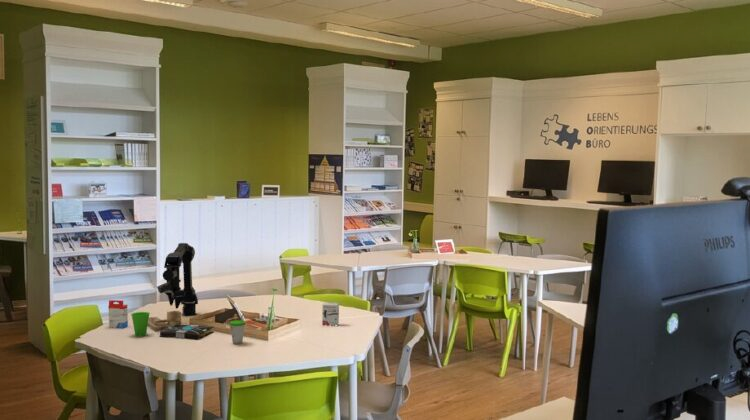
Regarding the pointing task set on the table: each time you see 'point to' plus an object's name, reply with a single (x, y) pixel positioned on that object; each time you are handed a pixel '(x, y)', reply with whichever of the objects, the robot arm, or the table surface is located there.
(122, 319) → the ink box
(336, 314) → the ink box
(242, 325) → the cup
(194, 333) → the book
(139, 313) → the cup
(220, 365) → the table surface
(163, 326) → the board
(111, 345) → the table surface
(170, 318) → the wooden mallet
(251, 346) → the table surface
